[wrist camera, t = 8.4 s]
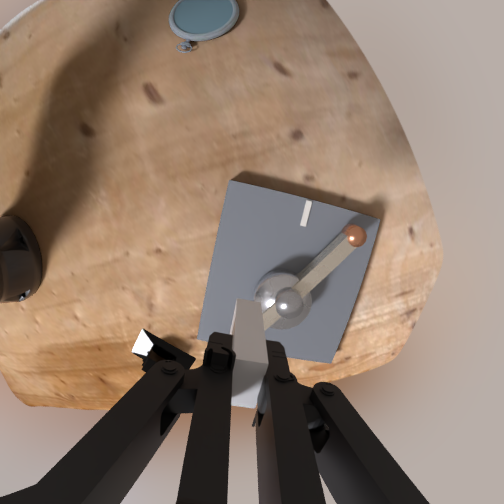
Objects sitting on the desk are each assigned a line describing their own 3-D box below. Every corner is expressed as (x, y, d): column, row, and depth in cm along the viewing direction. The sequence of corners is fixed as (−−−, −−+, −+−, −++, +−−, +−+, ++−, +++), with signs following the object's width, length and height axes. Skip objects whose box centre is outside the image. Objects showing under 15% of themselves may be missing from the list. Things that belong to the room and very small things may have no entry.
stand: (199, 332, 42) (196, 340, 39) (230, 180, 37) (229, 179, 35) (328, 356, 43) (331, 364, 40) (374, 217, 38) (381, 219, 36)
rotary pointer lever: (207, 326, 39) (202, 344, 34) (337, 205, 35) (349, 208, 30) (244, 358, 40) (243, 378, 35) (371, 245, 36) (386, 253, 31)
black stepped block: (122, 348, 43) (112, 363, 39) (137, 316, 42) (126, 330, 37) (188, 385, 45) (183, 402, 40) (207, 356, 43) (203, 373, 39)
